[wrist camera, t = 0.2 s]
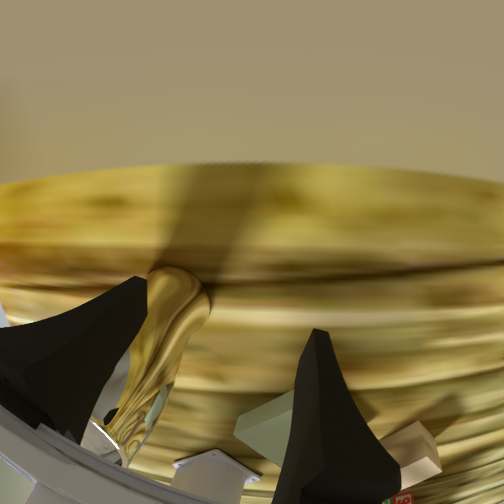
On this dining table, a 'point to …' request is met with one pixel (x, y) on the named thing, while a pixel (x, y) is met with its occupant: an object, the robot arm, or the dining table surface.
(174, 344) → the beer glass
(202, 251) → the dining table surface
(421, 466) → the ash cube
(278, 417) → the green slab
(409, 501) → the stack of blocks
